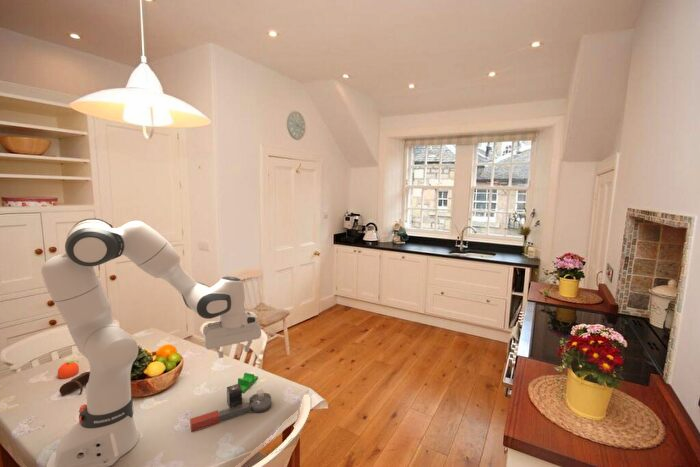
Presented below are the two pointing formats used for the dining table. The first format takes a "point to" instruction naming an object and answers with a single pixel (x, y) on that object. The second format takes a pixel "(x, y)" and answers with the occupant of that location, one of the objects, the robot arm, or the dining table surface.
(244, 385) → the pipe clamp
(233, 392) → the socket
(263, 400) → the ratchet
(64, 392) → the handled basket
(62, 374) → the orange tomato
